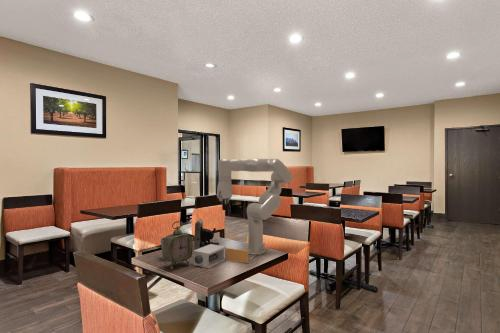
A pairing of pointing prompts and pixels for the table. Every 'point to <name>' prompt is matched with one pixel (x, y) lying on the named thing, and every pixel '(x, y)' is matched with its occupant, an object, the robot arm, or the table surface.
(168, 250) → the tabletop clock
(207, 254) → the camera housing
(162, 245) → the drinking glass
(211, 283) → the table surface
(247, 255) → the side door
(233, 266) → the table surface
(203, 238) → the vintage camera
